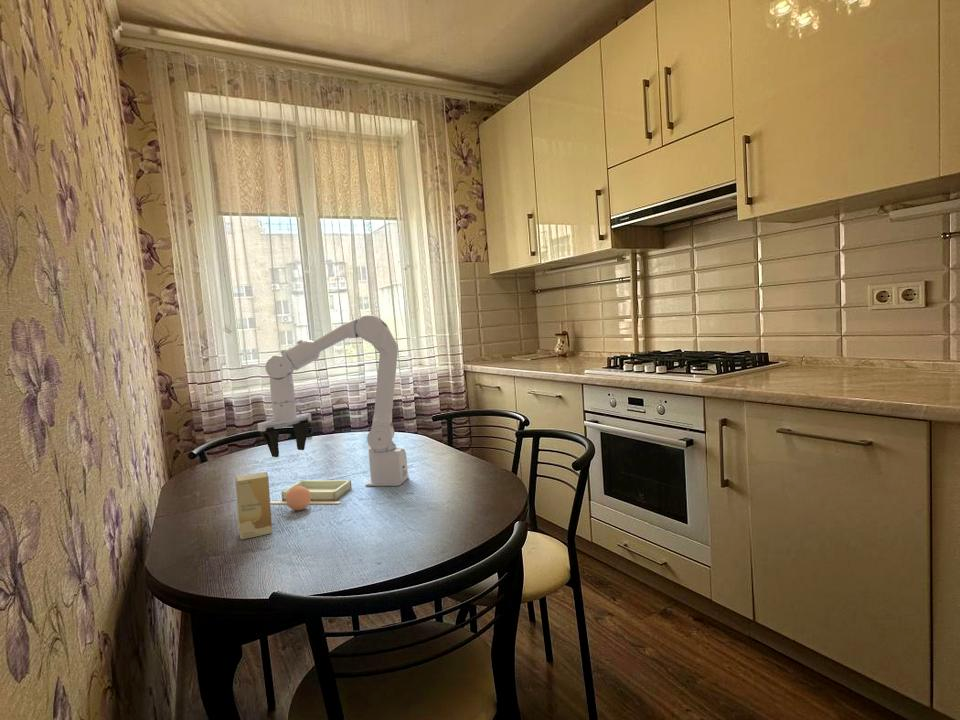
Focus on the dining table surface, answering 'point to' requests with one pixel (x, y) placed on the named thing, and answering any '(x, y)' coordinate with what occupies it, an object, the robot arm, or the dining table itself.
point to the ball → (298, 498)
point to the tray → (323, 489)
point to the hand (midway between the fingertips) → (288, 453)
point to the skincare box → (253, 505)
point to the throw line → (309, 503)
